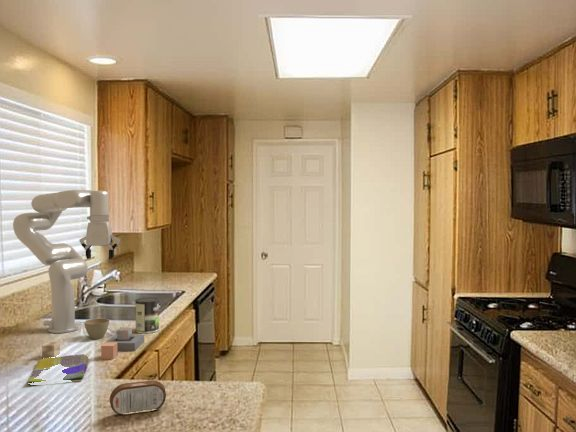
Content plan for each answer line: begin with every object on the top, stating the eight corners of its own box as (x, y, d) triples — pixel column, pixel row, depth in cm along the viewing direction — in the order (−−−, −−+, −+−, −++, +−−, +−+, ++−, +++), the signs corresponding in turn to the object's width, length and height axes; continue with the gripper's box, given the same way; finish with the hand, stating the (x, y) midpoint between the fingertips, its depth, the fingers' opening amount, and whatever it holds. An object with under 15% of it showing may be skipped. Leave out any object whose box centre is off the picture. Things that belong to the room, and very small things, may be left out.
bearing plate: (104, 350, 196) (104, 342, 196) (115, 341, 208) (115, 334, 208) (134, 350, 196) (134, 343, 196) (144, 341, 208) (144, 334, 208)
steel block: (117, 345, 200) (117, 330, 200) (121, 342, 204) (121, 327, 204) (128, 345, 200) (128, 330, 200) (132, 342, 204) (132, 327, 204)
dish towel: (23, 389, 158) (23, 380, 158) (38, 364, 181) (38, 356, 181) (83, 383, 163) (83, 374, 163) (90, 360, 186) (89, 352, 186)
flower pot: (79, 338, 212) (79, 322, 212) (98, 333, 221) (98, 317, 221) (95, 342, 208) (95, 325, 207) (114, 336, 216) (114, 319, 216)
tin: (165, 406, 144) (165, 377, 144) (166, 410, 141) (166, 381, 141) (109, 414, 138) (109, 384, 138) (110, 419, 136) (109, 388, 135)
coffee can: (161, 327, 231) (161, 297, 231) (155, 333, 221) (155, 301, 220) (139, 327, 231) (139, 297, 231) (132, 333, 221) (131, 301, 220)
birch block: (42, 358, 186) (42, 345, 186) (48, 355, 191) (47, 341, 190) (54, 358, 186) (54, 345, 186) (59, 355, 191) (59, 342, 190)
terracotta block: (101, 359, 186) (101, 345, 186) (105, 355, 190) (105, 342, 190) (113, 359, 186) (113, 345, 186) (117, 355, 190) (117, 342, 190)
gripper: (75, 219, 213) (76, 259, 213) (116, 219, 213) (116, 259, 213) (83, 218, 220) (83, 257, 221) (122, 218, 220) (122, 257, 221)
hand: (99, 258), depth 217 cm, fingers open, 9 cm apart
